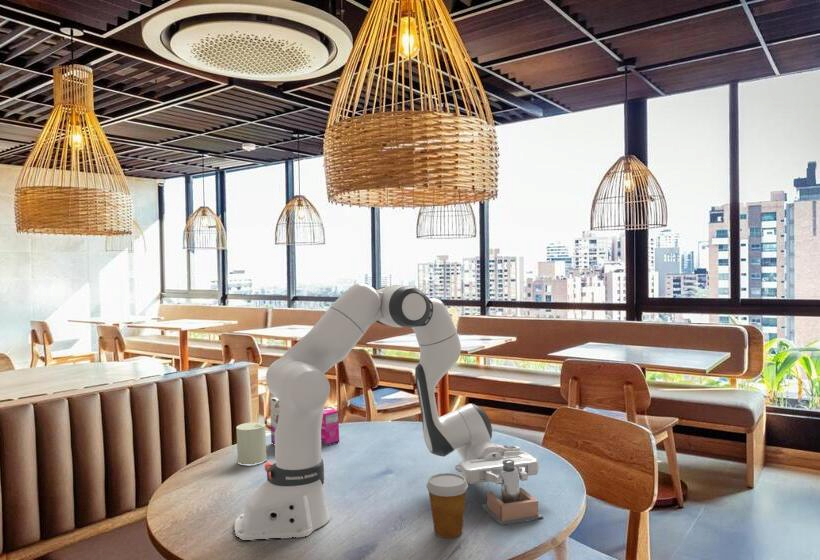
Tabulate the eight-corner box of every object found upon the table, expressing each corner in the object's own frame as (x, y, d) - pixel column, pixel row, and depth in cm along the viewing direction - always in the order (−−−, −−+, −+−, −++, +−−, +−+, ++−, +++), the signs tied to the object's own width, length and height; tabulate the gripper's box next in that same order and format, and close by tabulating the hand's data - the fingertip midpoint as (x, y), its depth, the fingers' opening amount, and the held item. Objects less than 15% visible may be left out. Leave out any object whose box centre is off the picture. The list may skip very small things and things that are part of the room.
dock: (500, 525, 132) (500, 508, 132) (482, 506, 143) (481, 490, 143) (543, 518, 135) (542, 501, 135) (521, 500, 146) (521, 485, 146)
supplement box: (316, 442, 200) (315, 410, 199) (331, 439, 204) (330, 407, 203) (325, 446, 195) (324, 413, 195) (340, 442, 199) (339, 410, 199)
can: (259, 466, 176) (258, 428, 176) (231, 466, 178) (230, 428, 178) (271, 457, 186) (270, 420, 185) (245, 456, 187) (243, 420, 187)
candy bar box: (298, 447, 195) (297, 400, 194) (285, 451, 191) (284, 402, 191) (283, 440, 203) (282, 395, 203) (270, 443, 200) (269, 397, 200)
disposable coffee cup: (466, 521, 135) (464, 471, 134) (471, 540, 125) (470, 486, 125) (426, 523, 134) (424, 472, 134) (428, 542, 125) (427, 488, 125)
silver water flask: (507, 515, 136) (504, 466, 136) (499, 507, 140) (496, 460, 140) (524, 511, 137) (520, 463, 137) (515, 504, 142) (512, 457, 141)
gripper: (452, 453, 148) (472, 471, 135) (523, 445, 154) (549, 461, 141) (452, 477, 148) (473, 497, 135) (523, 468, 154) (549, 486, 141)
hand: (512, 479), depth 138 cm, fingers open, 5 cm apart
